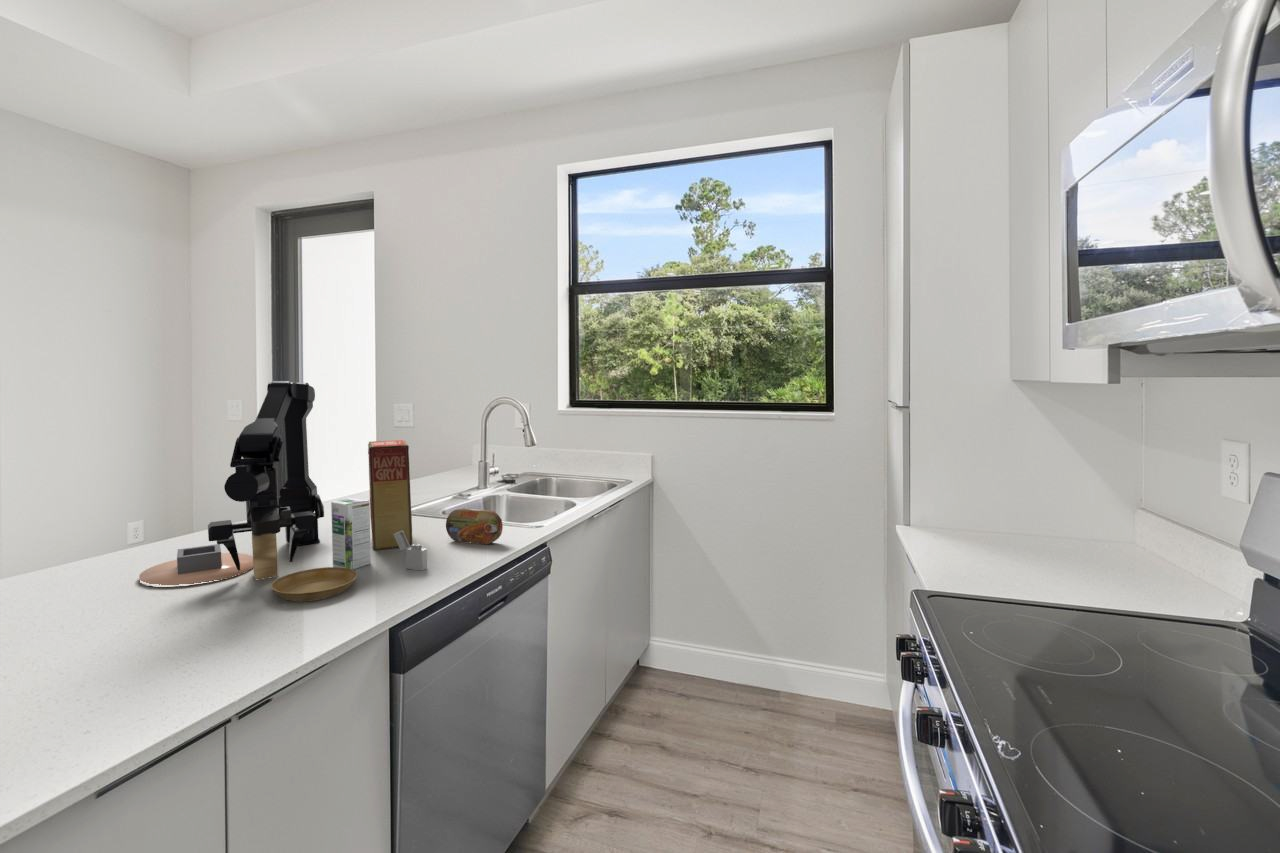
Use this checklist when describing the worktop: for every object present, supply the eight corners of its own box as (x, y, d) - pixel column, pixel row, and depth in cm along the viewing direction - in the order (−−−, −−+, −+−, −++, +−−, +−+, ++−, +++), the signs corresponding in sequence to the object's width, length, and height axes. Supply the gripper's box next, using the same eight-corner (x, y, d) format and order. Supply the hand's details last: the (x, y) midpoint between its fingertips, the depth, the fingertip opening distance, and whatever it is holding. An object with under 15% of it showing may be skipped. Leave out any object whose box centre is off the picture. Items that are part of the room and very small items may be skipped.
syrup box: (331, 567, 132) (329, 501, 131) (355, 560, 138) (353, 496, 136) (348, 571, 130) (346, 504, 128) (372, 563, 135) (370, 499, 134)
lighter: (427, 568, 132) (426, 531, 132) (422, 570, 131) (422, 533, 130) (399, 565, 134) (398, 529, 133) (394, 567, 132) (393, 531, 132)
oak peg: (275, 571, 129) (274, 529, 129) (278, 576, 126) (276, 533, 125) (253, 574, 127) (251, 532, 126) (255, 580, 124) (253, 536, 123)
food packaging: (370, 537, 157) (367, 440, 155) (409, 533, 161) (407, 439, 159) (371, 550, 145) (368, 446, 143) (413, 546, 149) (411, 444, 147)
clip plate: (252, 552, 143) (251, 533, 143) (259, 575, 127) (258, 554, 126) (142, 567, 131) (141, 547, 131) (135, 595, 115) (134, 571, 115)
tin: (445, 541, 154) (444, 508, 153) (452, 538, 157) (452, 505, 156) (498, 546, 149) (497, 512, 149) (504, 543, 152) (504, 509, 152)
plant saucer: (368, 593, 117) (368, 580, 117) (282, 613, 107) (281, 598, 107) (343, 574, 128) (343, 562, 128) (263, 591, 118) (262, 578, 118)
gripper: (206, 504, 113) (211, 585, 114) (318, 493, 124) (321, 567, 125) (206, 494, 122) (210, 570, 123) (310, 485, 133) (313, 554, 134)
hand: (265, 566), depth 126 cm, fingers open, 9 cm apart
